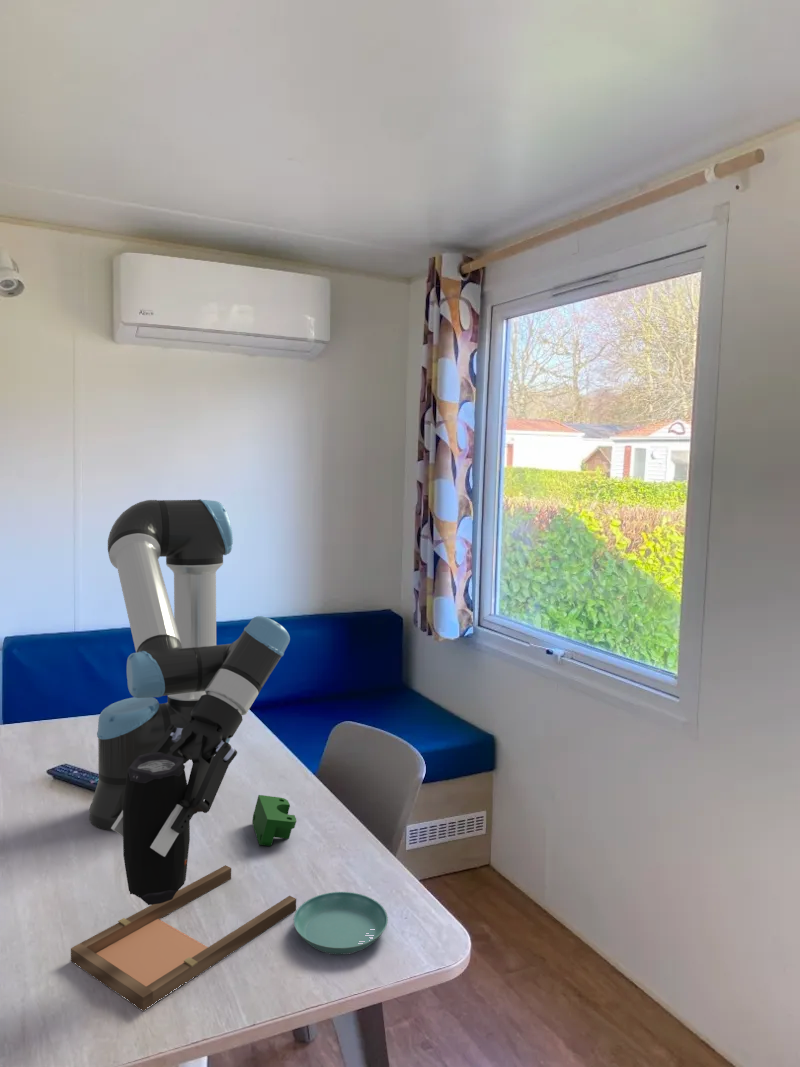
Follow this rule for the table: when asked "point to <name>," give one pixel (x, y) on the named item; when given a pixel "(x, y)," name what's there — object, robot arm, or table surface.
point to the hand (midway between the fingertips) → (137, 842)
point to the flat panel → (151, 951)
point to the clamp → (272, 819)
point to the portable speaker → (154, 827)
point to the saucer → (340, 922)
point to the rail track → (192, 966)
